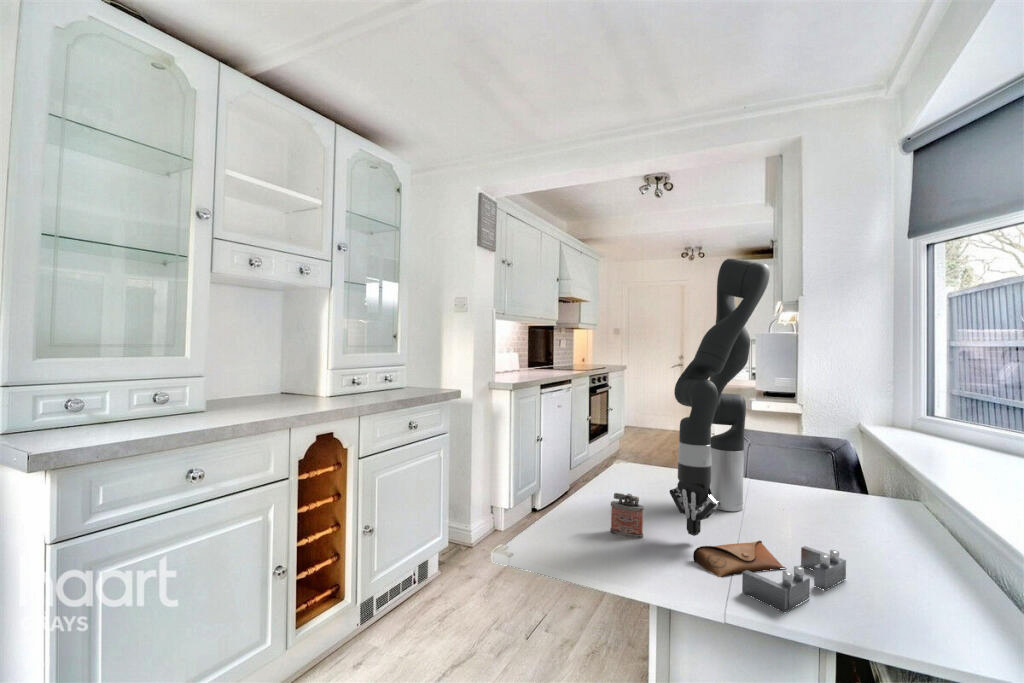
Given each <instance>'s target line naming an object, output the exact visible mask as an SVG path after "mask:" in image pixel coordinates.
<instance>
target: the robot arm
mask: <svg viewBox="0 0 1024 683" xmlns="http://www.w3.org/2000/svg"><path fill="white" fill-rule="evenodd" d="M718 270H719V271H718V274H717V281H716V313H715V314H716V316H715V317H716V318H715V324H714V325H713V326H711V328H710V329H708V330H707V331H706V332H705V333H704V336H703V337H702V339H701V342H700V344H699V346H698V349H697V350H696V353H695V355H694V358H692V359H693V360H692V361H691V362H689V364H688V365H687V367H686V368H685V369H684V371H683V372H682V373H681V374H680V375H679V377H678V379H677V381H676V382H675V386H674V391H673V392H674V398H675V400H676V401H677V403H679V404H680V405H682V406H684V407H690V408H691V409H690V414H689V416H686V417H683V418H681V420H680V423H679V437H678V439H679V440H678V441H679V444H678V450H677V480H678V482H677V486H676V487H675V488H672V489H669V494H670V496H671V499H672V500H673V502H674V504H675V505H676V508H677V510H678V512H679V513H680V514H683V515H684V516H685V517H686V531H687V534H688V535H690V536H693V537H695V536H698V535H699V534H700V533H701V526H702V525H701V521H702V520H703V521H704V520H706V519H709V518H710V517H711V515H712V514H713V513H714V512H715V511H717V510H720V511H725V512H739V511H740V512H741V511H742V510H743V508H744V505H743V504H744V501H743V500H744V464H745V462H744V460H745V458H744V457H745V456H744V455H745V453H744V452H745V450H744V449H745V426H746V417H747V415H746V413H747V412H746V411H747V403H746V399H745V397H744V396H743V395H742V394H738V393H723V391H724V390H725V388H726V386H727V385H728V384H729V383H730V382H731V380H733V379H734V378H735V377H736V376H737V375H738V374H740V372H741V371H742V370H743V369H744V368H745V366H746V365H747V363H748V361H749V357H750V356H749V354H750V349H751V337H750V335H749V332H748V330H747V327H746V324H747V323H748V321H749V320H750V318H751V316H752V314H753V313H754V311H755V309H756V308H757V306H758V305H759V303H760V301H761V299H762V298H763V296H764V294H765V292H766V289H767V288H768V284H769V281H770V272H771V271H770V268H769V265H768V264H765V263H762V262H757V261H751V260H745V259H744V260H743V259H739V258H727V259H724V260H723V262H722V263H721V265H720V267H719V269H718ZM735 297H736V298H740V299H741V301H740V303H739V304H738V305H737V307H736V301H735ZM712 425H718V426H719V425H722V426H731V427H730V428H729V429H727V430H726V431H725V432H722V433H719V434H716V435H713V436H711V435H712V431H711V430H712ZM705 505H706V506H705Z"/></svg>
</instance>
